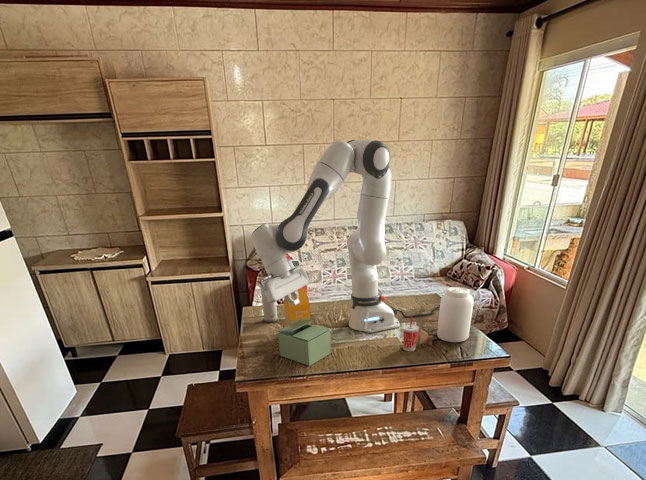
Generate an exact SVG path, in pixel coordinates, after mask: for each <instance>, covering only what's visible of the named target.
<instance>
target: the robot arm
mask: <svg viewBox="0 0 646 480" xmlns="http://www.w3.org/2000/svg"><path fill="white" fill-rule="evenodd" d="M390 164H391V152H390V148H389V146H388V145H387V144H386V143H385V142H383V141H381V140H374V139H367V138H363V139H351V140H348V141H346V140H344V139H343V140H342V139H338V140H337V139H336V140H334V141H333V142H332V143H331V144H330V145H329V146H328V147H327V149H326V150H325V151H324V152H323V153H322V155H321V156H320V158H319V159H318V161H317V163H316V164H315V166H314V168H313V170H312V172H311V173H310V176H309V179H308V183H307V187H306V188H307V189H306V191H305V194H304V195H303V197H302V198H301V200H300V202H299V203H298V205H297V206H296V208H295V210H294V211H293V213H292V214H291V215H289V216H288V217H287V218H285V219H283V220H282V221H281V222H280V223H279V224H271V223H267V222H265V223H262V224H260V225H259V226H258V227H256V228H255V229H254V230H253V231H252V234H251V239H250V240H251V243H252V246H253V247H254V250H255V252H256V254H257V256H258V258H259V259H260V260H261V262H262V264H263V268H264V270H265V272H266V274H267V276H264V277H262V278H261V279H262V280H261V279H260V280H261V286H262V288H263V290H264V293H265V296H266V298H267V301H268V302H269V303H274V302H276V303H277V302H278V301H279V300H281V299H284V297H285V299H286V300H287V301H288V302H290V303H291V305H292V307H294V306H296V305H297V304H299V303H300V301H299V299H298V298H299V297H298V291H297V290H298V289H302V288H305V287H306V286H307V285H309V284H310V278H309V276H308V274H307V271H306V270H305V268H304V267H303V266H301V265H302V263H301V260H300V259H288V257H287V255H286V254H289V253H295V252H298V251H299V250H300V249H302V247H304V245H305V243H306V241H307V236H308V229H309V226H310V224H311V222H312V220H313V219H314V217H315V216H316V214H317V212H318V211H319V209H320V208H321V206H322V205H323V204H324V203H325V202H327V201H329V200H330V199H332V198H333V197H334V196H335V195H336V194H337V192H338V191H339V190H340V188H341V187H342V185H343V184H344V182H345V180H346V178H347V177H348V175H349V174H350V173H354V174H357V175H361V177H362V186H361V188H360V189H361V190H360V196H359V202H358V207H357V213H356V217H357V228H358V229H357V231H354V232H352V233H351V234H350V235H349V236H348V238H347V240H346V248H347V251H348V259H349V267H350V272H351V294H350V307H351V310H350V316H349V322H348V327H349V328H350V329H352V330H355V331H359V332H365V333H368V334H372V333H376V332H381V331H387V330H393V329H396V328H399V327H400V326H401V324H400V321H399V319H398V318H397V317H395V315H397V313H398V312H399V313H401V315H402V317H403V318H411V315H412V318H416V317H426V316H431V315H434V314H435V311H436V310H438V309H440V305H438V306H435V307H434V308H432V312H430V313H420V314H411V315H406V314H405V313H404V312H403V310H400V309H397V308H395V307H394V306H391V305H390V306H389V305H388V304H386V303H385V301H386V300H387V298H386V296H385V295H383V294H381V293H380V292H379V273H378V270H377V266H378V265H381V264H382V263H383V261H385V258H386V256H387V247H386V243H385V238H386V237H385V236H386V233H385V232H386V231H385V230H386V229H385V228H386V216H387V212H388V211H387V210H388V207H389V206H388V205H389V201H390V194H391V187H392V186H391V185H392V171H391V169H390ZM262 281H263V282H262ZM291 294H292V296H293V295H294V300H293V299H292V298H291V297H292V296H291Z"/></svg>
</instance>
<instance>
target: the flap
mask: <svg viewBox="0 0 646 480" xmlns="http://www.w3.org/2000/svg"><path fill="white" fill-rule="evenodd" d="M314 321H315V319H311V320H300V321H298V322H296V323H294V324H291V325H289V326H287V327H286V326H284V327H283V328H281V329H279V330H277V333H279V332H292V331H294V330H296V329H298V328H300V327H302V326H304V325H306V324H308V323H310V322H311V323H313V322H314Z"/></svg>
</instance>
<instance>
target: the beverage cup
mask: <svg viewBox="0 0 646 480" xmlns="http://www.w3.org/2000/svg"><path fill="white" fill-rule="evenodd" d="M412 315H413V314H410V316H411V317H410V322H409V324H408V323H407V324H404V325H403V326H402V331H403V332H402V333H403V334H402V335H403V337H402V338H403V340H402V341H403V342H402V346H403V347H402V348H403V350H404V351H405V352H414V351H415V350H416V348H417V341H418V333H419V331H420V327H419V326H418V325H417V324H413V317H412Z"/></svg>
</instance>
